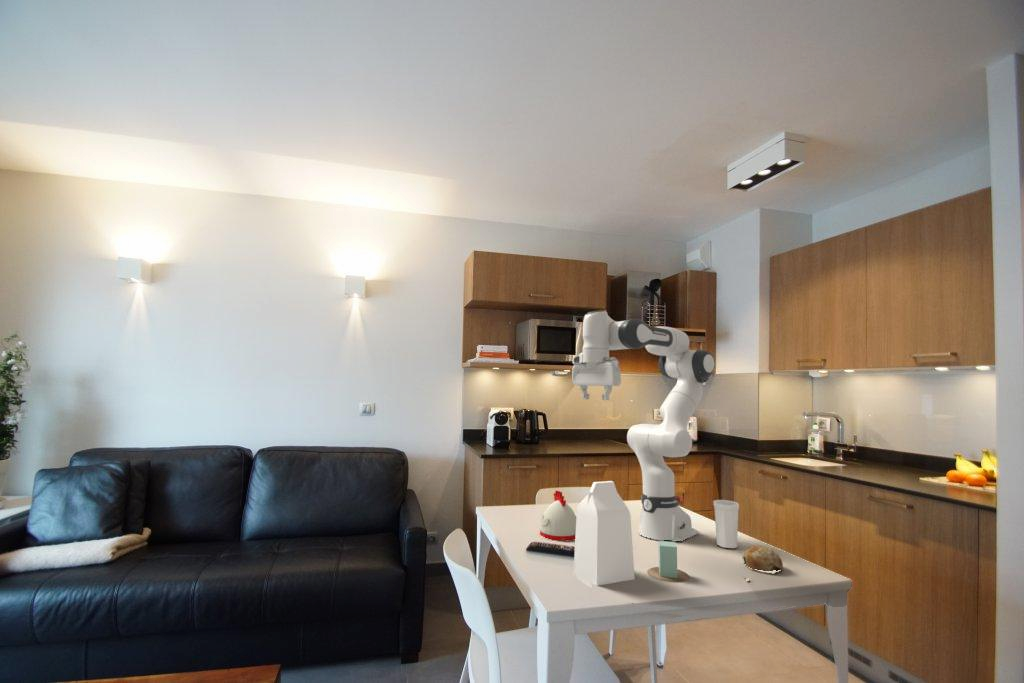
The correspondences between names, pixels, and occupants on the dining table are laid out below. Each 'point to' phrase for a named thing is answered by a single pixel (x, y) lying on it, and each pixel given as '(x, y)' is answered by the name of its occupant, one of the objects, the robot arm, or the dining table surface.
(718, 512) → the cup
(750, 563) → the bread roll
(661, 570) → the mint rectangular pillar
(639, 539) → the dining table surface
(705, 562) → the dining table surface
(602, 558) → the milk
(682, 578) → the post stand
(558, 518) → the kitchen timer
